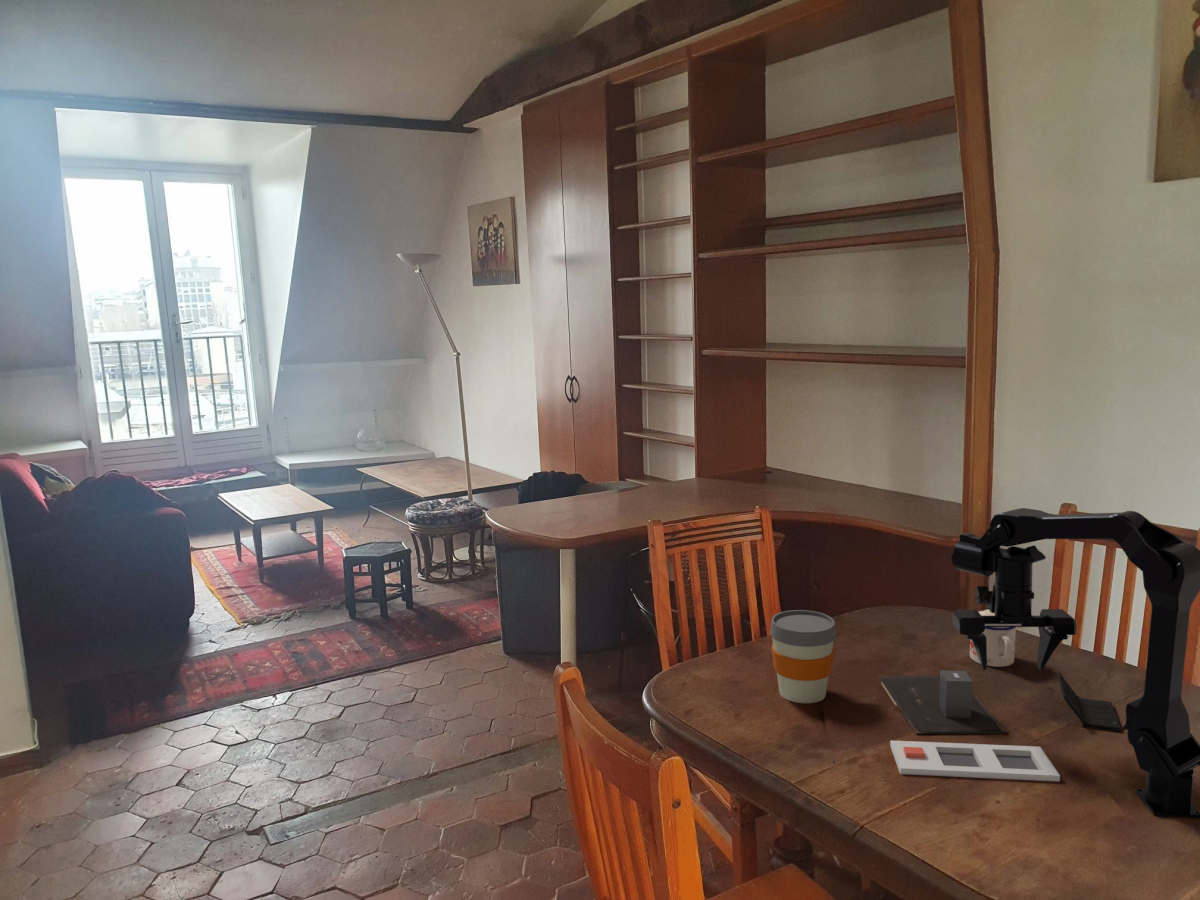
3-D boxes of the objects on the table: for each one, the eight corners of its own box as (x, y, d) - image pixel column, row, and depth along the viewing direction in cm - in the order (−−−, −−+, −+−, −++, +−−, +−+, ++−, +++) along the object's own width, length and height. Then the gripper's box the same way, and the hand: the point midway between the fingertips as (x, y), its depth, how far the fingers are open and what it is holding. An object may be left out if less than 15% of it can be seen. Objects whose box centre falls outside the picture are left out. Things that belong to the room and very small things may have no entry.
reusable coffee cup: (802, 674, 180) (802, 605, 177) (849, 696, 169) (850, 623, 167) (756, 690, 173) (756, 618, 170) (802, 713, 162) (803, 638, 160)
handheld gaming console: (1134, 724, 151) (1096, 677, 153) (1098, 746, 153) (1060, 699, 154) (1112, 704, 162) (1076, 660, 164) (1078, 725, 164) (1043, 681, 165)
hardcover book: (915, 744, 152) (916, 732, 151) (879, 686, 174) (879, 676, 174) (1008, 743, 151) (1009, 730, 150) (959, 685, 173) (960, 674, 173)
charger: (970, 718, 156) (972, 681, 154) (945, 717, 156) (947, 680, 155) (963, 706, 160) (965, 670, 159) (938, 705, 160) (940, 669, 159)
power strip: (1059, 787, 136) (1060, 771, 135) (836, 776, 141) (836, 760, 140) (1039, 757, 144) (1040, 742, 144) (830, 748, 150) (830, 733, 149)
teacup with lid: (961, 651, 188) (963, 600, 186) (1002, 650, 188) (1004, 598, 186) (986, 674, 176) (988, 620, 174) (1030, 673, 176) (1033, 618, 174)
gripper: (1053, 568, 154) (1051, 652, 157) (944, 569, 157) (944, 651, 159) (1079, 587, 144) (1076, 676, 146) (961, 588, 146) (960, 676, 148)
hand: (1011, 669), depth 150 cm, fingers open, 9 cm apart
